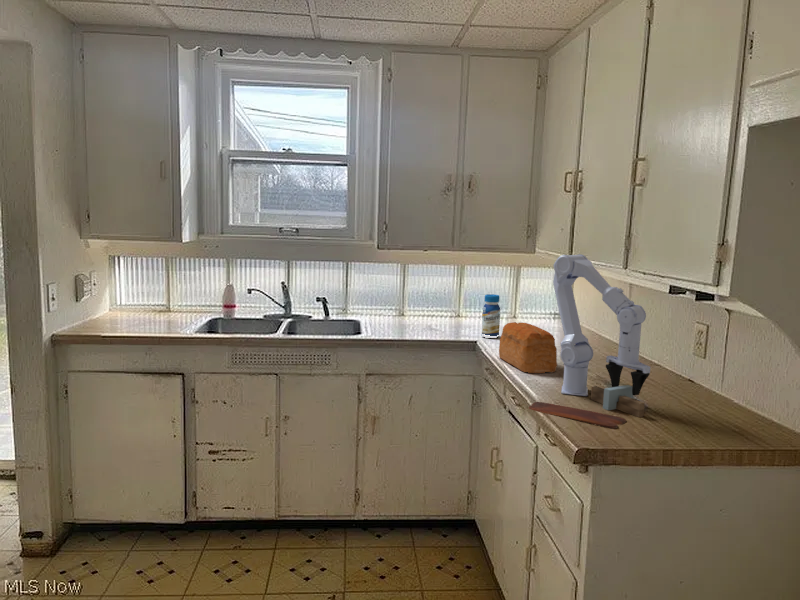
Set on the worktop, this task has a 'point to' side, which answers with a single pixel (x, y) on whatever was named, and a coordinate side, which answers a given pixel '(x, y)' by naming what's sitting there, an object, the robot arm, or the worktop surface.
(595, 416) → the wooden tablet
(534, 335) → the bread
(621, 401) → the walnut slotted rail
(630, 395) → the grey notched plate
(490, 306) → the beverage bottle
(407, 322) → the worktop surface
